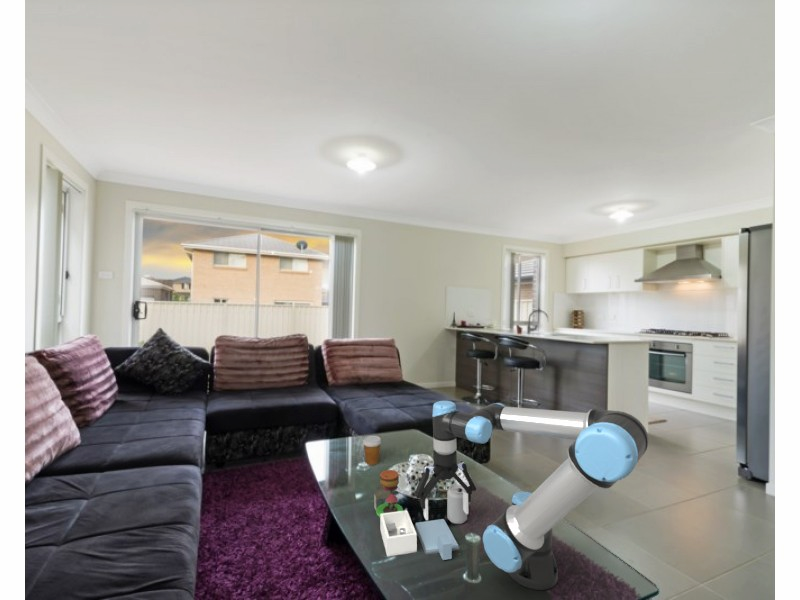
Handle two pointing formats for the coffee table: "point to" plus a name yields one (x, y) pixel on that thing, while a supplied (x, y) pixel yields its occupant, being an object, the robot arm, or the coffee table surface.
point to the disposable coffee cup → (372, 449)
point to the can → (455, 504)
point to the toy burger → (387, 492)
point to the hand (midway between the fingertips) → (446, 514)
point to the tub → (398, 533)
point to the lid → (437, 537)
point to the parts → (394, 530)
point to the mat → (434, 551)
